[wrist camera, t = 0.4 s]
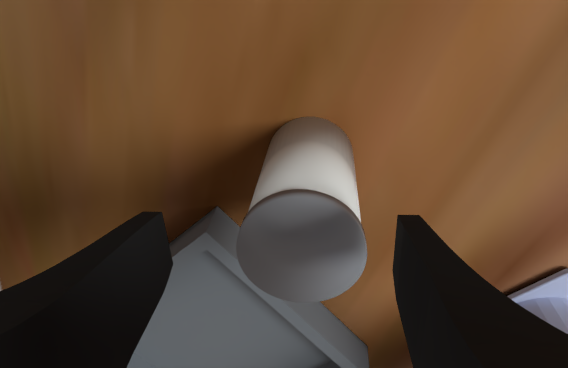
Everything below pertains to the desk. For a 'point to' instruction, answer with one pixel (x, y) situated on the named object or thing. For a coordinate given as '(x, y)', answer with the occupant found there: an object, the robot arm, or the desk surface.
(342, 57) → the desk surface
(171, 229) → the desk surface
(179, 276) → the tray
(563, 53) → the desk surface
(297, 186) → the shaker
